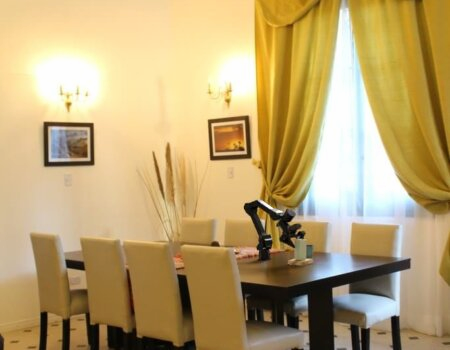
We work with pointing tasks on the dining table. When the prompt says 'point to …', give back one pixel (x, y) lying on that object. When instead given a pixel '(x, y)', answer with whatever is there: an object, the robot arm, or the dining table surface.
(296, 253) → the tea tin
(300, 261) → the tan square coaster
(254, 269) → the dining table surface
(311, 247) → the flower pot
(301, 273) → the dining table surface
